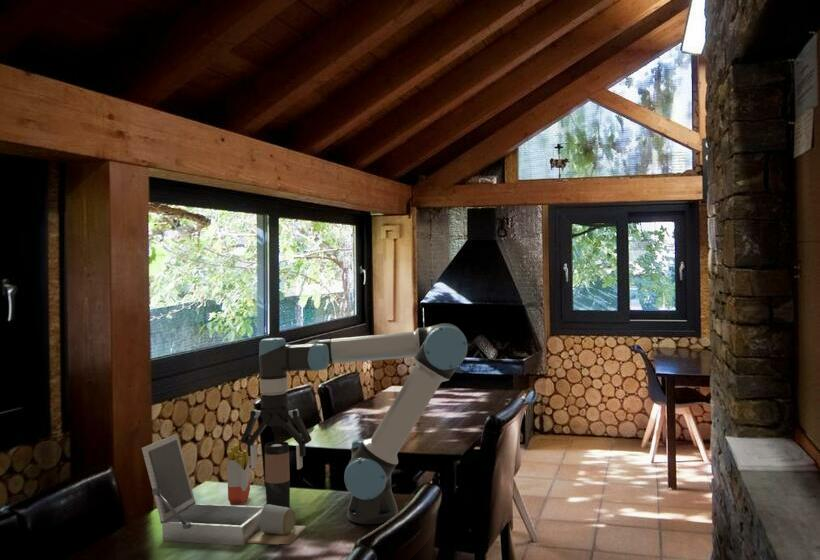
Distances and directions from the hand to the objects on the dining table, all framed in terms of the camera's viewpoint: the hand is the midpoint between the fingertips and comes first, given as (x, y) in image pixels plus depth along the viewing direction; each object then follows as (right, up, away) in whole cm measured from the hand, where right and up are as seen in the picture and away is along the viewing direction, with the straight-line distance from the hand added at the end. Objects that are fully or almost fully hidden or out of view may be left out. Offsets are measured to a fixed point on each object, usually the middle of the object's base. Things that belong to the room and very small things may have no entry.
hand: (277, 467), depth 196 cm
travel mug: (-4, -19, +23) cm, 30 cm away
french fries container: (-18, -19, +30) cm, 40 cm away
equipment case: (-21, -19, +2) cm, 28 cm away
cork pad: (0, -19, -2) cm, 19 cm away
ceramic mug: (+1, -18, 0) cm, 18 cm away
